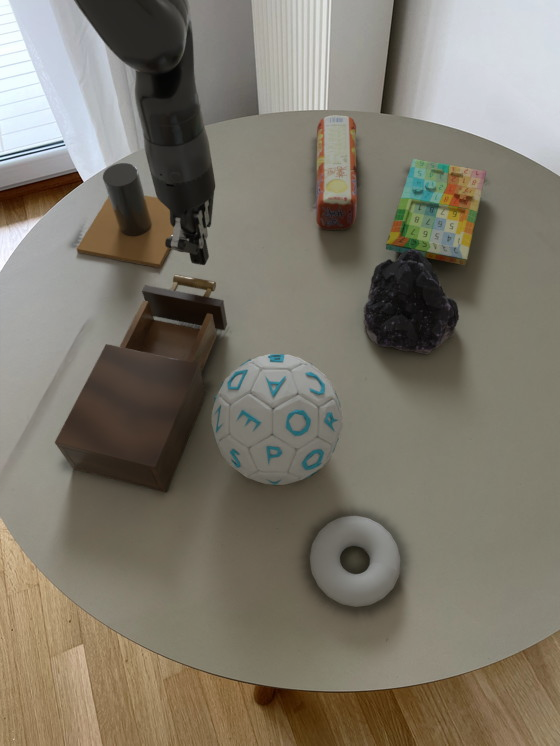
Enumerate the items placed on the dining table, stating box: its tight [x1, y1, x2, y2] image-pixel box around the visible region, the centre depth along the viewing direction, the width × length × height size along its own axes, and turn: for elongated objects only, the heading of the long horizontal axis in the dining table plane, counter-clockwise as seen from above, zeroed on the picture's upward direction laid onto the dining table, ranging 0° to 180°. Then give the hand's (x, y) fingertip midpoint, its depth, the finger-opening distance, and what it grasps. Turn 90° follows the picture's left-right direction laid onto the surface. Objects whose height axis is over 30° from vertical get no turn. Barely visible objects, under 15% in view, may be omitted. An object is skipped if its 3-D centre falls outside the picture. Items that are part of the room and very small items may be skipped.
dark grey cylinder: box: [102, 162, 152, 236], centre depth 100 cm, size 5×5×10 cm
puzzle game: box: [385, 158, 487, 266], centre depth 100 cm, size 12×5×20 cm
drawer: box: [119, 273, 228, 374], centre depth 88 cm, size 18×11×5 cm, turn 164°
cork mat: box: [76, 195, 174, 269], centre depth 104 cm, size 14×14×1 cm
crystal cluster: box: [363, 249, 460, 355], centre depth 88 cm, size 13×14×10 cm
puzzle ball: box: [211, 353, 343, 486], centre depth 75 cm, size 15×15×15 cm
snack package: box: [315, 114, 358, 231], centre depth 105 cm, size 21×7×7 cm, turn 177°
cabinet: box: [54, 343, 207, 493], centre depth 81 cm, size 15×13×7 cm
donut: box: [309, 515, 402, 608], centre depth 72 cm, size 10×4×10 cm
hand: (200, 260), depth 92 cm, fingers closed
